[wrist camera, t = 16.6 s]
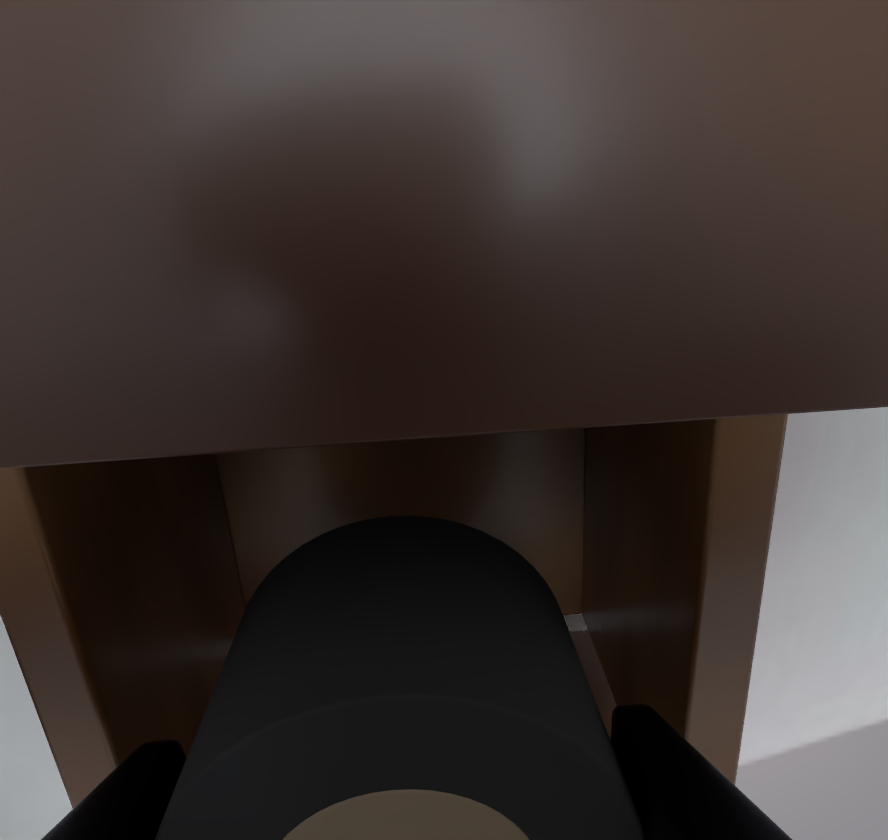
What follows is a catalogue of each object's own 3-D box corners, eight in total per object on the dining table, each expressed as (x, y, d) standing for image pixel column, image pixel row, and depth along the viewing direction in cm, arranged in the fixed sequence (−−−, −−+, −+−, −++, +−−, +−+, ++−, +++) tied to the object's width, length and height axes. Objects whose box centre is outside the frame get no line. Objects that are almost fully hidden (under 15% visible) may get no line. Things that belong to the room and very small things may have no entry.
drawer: (620, 781, 18) (734, 1116, 11) (248, 811, 18) (152, 1167, 11) (656, 129, 12) (932, 74, 6) (95, 165, 12) (-286, 148, 5)
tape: (565, 772, 11) (637, 1031, 8) (262, 798, 11) (195, 1076, 7) (569, 501, 9) (665, 677, 6) (209, 526, 9) (90, 724, 6)
